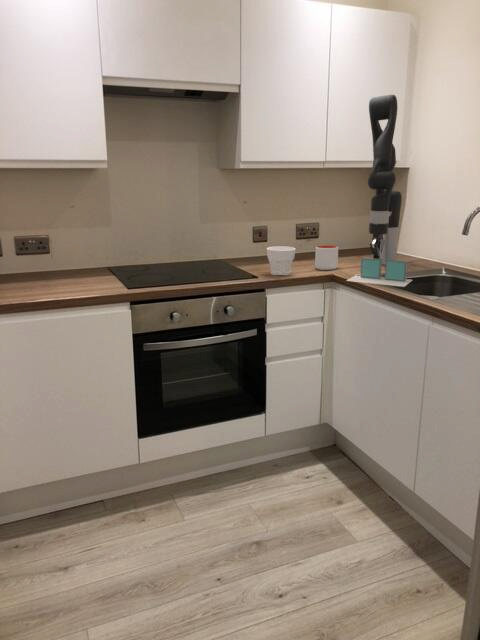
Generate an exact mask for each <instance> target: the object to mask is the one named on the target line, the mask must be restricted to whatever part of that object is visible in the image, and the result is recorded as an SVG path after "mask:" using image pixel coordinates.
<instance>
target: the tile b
mask: <svg viewBox="0 0 480 640" xmlns="http://www.w3.org/2000/svg"><path fill="white" fill-rule="evenodd" d="M407 270H408V260H402V259H400V260H399V259H396V260H389V259H387V260H386V265H385V270H384V271H385V272H384V277H385V280H394V281H404V282H405V281H406V279H407V272H408V271H407Z"/></svg>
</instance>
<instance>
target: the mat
mask: <svg viewBox="0 0 480 640" xmlns="http://www.w3.org/2000/svg"><path fill="white" fill-rule="evenodd" d="M357 275H358V274H355V275H354V276H352V277H350V278H348V279H347V280H345V281H346V282H352V283H353V282H354V283H363V284H364V283H365V284H373V285H384V286H392V287H401V288H405V287H407V285H409V284H410V283H411V282H412V281H413V279H408V278H406V281H405V282H404V281H394V280H385V276H381V279H373V278H363V277H360V276H357Z"/></svg>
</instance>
